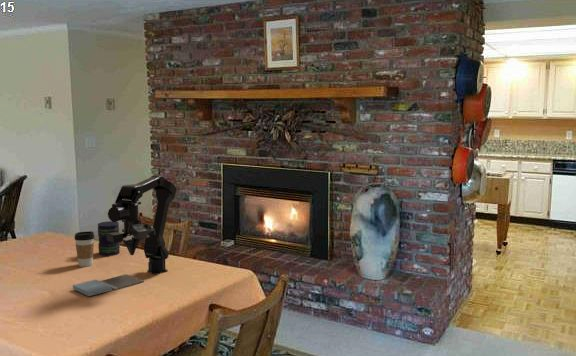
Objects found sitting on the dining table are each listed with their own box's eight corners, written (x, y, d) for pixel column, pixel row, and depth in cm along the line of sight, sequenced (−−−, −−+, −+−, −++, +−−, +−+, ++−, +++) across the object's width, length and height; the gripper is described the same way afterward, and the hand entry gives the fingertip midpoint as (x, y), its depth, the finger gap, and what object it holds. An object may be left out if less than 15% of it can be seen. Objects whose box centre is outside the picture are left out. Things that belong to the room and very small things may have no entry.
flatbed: (126, 275, 216) (126, 273, 216) (143, 282, 208) (143, 280, 208) (97, 282, 206) (97, 281, 206) (115, 290, 198) (115, 288, 198)
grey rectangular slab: (95, 279, 205) (72, 285, 198) (111, 286, 197) (88, 292, 190) (95, 284, 205) (73, 289, 198) (111, 291, 197) (88, 297, 190)
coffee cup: (88, 268, 225) (87, 235, 223) (71, 266, 227) (70, 234, 225) (99, 262, 233) (98, 230, 231) (82, 261, 235) (81, 229, 233)
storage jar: (104, 250, 254) (103, 220, 252) (123, 251, 253) (122, 221, 251) (94, 255, 244) (93, 225, 242) (113, 256, 243) (112, 226, 241)
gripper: (121, 223, 190) (122, 264, 192) (162, 216, 204) (163, 254, 206) (105, 219, 197) (106, 258, 199) (146, 212, 211) (147, 249, 213)
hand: (132, 255), depth 204 cm, fingers closed
